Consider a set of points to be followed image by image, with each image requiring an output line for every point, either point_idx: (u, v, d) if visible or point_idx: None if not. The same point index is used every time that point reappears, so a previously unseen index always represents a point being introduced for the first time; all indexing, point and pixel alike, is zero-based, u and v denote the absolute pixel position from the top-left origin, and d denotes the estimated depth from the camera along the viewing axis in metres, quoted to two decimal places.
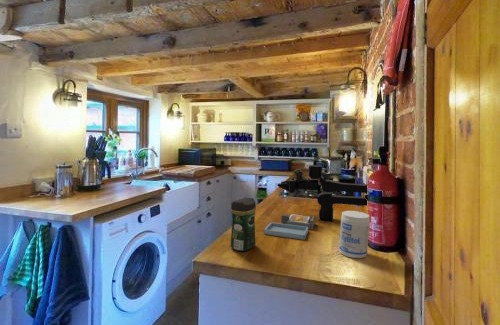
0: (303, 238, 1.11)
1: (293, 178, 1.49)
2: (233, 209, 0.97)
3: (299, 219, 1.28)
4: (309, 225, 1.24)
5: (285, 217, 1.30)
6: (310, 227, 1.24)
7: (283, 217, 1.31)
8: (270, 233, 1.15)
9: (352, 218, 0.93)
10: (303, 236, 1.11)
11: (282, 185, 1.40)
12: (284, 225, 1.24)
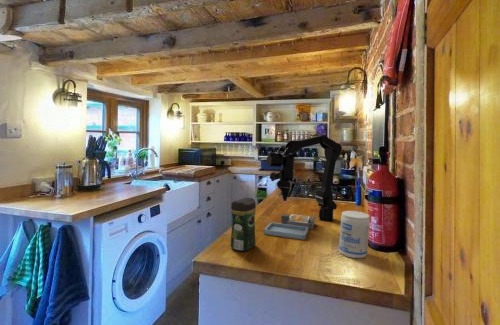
0: (303, 238, 1.11)
1: None
2: (233, 209, 0.97)
3: (298, 219, 1.28)
4: (309, 225, 1.24)
5: (285, 217, 1.30)
6: (310, 227, 1.24)
7: (283, 217, 1.31)
8: (270, 233, 1.15)
9: (352, 218, 0.93)
10: (303, 236, 1.11)
11: (284, 195, 1.25)
12: (284, 225, 1.24)
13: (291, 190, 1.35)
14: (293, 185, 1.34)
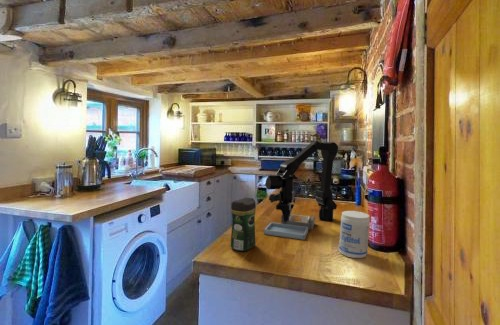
0: (303, 238, 1.11)
1: None
2: (233, 209, 0.97)
3: (296, 218, 1.29)
4: (309, 225, 1.24)
5: None
6: (310, 227, 1.24)
7: None
8: (270, 233, 1.15)
9: (352, 218, 0.93)
10: (303, 236, 1.11)
11: (285, 215, 1.29)
12: (284, 225, 1.24)
13: (289, 212, 1.33)
14: (291, 207, 1.33)
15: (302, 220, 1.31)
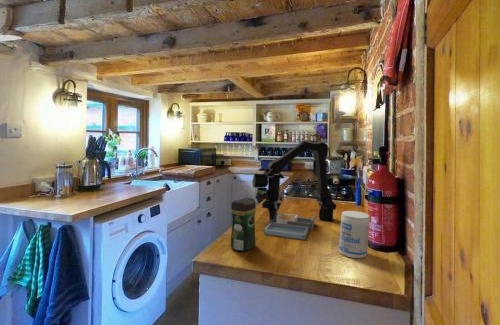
0: (303, 238, 1.11)
1: None
2: (233, 209, 0.97)
3: (286, 216, 1.31)
4: (309, 225, 1.24)
5: None
6: (310, 227, 1.24)
7: None
8: (270, 233, 1.15)
9: (352, 218, 0.93)
10: (303, 236, 1.11)
11: (271, 214, 1.31)
12: (284, 225, 1.24)
13: (276, 211, 1.35)
14: (278, 206, 1.35)
15: (290, 219, 1.33)
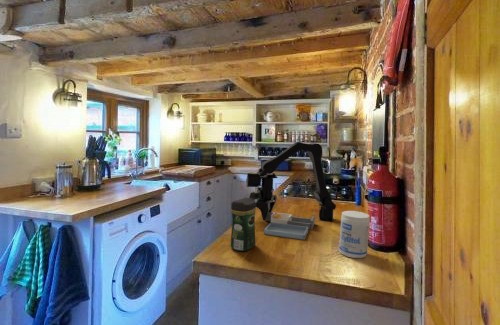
0: (303, 238, 1.11)
1: None
2: (233, 209, 0.97)
3: (275, 216, 1.32)
4: (309, 225, 1.24)
5: (267, 215, 1.33)
6: (310, 227, 1.24)
7: None
8: (270, 233, 1.15)
9: (352, 218, 0.93)
10: (303, 236, 1.11)
11: (263, 214, 1.30)
12: (284, 225, 1.24)
13: (271, 209, 1.38)
14: (272, 204, 1.38)
15: (284, 218, 1.34)
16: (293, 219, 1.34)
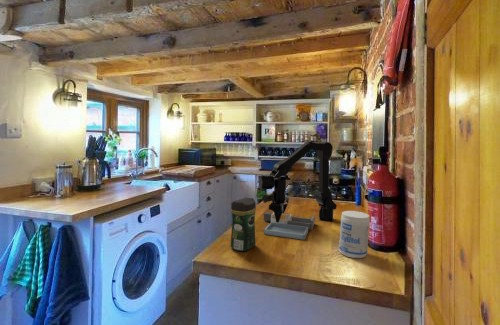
0: (303, 238, 1.11)
1: None
2: (233, 209, 0.97)
3: (281, 217, 1.31)
4: (309, 225, 1.24)
5: (267, 215, 1.33)
6: (310, 227, 1.24)
7: (265, 215, 1.33)
8: (270, 233, 1.15)
9: (352, 218, 0.93)
10: (303, 236, 1.11)
11: (277, 216, 1.29)
12: (284, 225, 1.24)
13: (283, 212, 1.35)
14: (285, 207, 1.35)
15: None
16: (293, 219, 1.34)
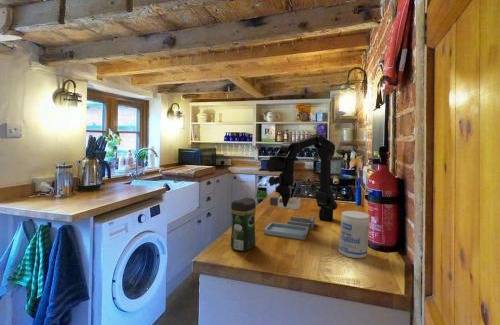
0: (303, 238, 1.11)
1: None
2: (233, 209, 0.97)
3: (282, 201, 1.22)
4: (309, 225, 1.24)
5: (274, 199, 1.23)
6: (310, 227, 1.24)
7: (272, 199, 1.23)
8: (270, 233, 1.15)
9: (352, 218, 0.93)
10: (303, 236, 1.11)
11: (284, 200, 1.18)
12: (284, 225, 1.24)
13: (291, 196, 1.25)
14: (293, 191, 1.25)
15: (292, 203, 1.24)
16: (293, 219, 1.34)
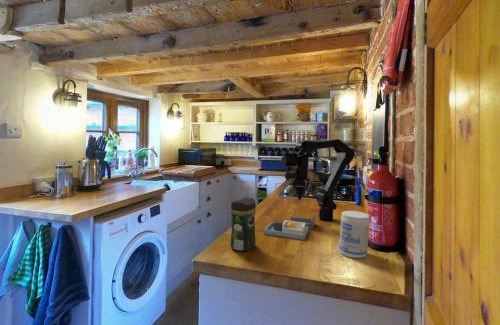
0: (303, 238, 1.11)
1: None
2: (233, 209, 0.97)
3: (288, 225, 1.17)
4: (309, 225, 1.24)
5: (278, 224, 1.18)
6: (310, 227, 1.24)
7: (276, 224, 1.18)
8: (270, 233, 1.15)
9: (352, 218, 0.93)
10: (303, 236, 1.11)
11: (299, 194, 1.29)
12: None
13: (305, 189, 1.38)
14: (307, 184, 1.38)
15: (297, 227, 1.19)
16: (293, 219, 1.34)
